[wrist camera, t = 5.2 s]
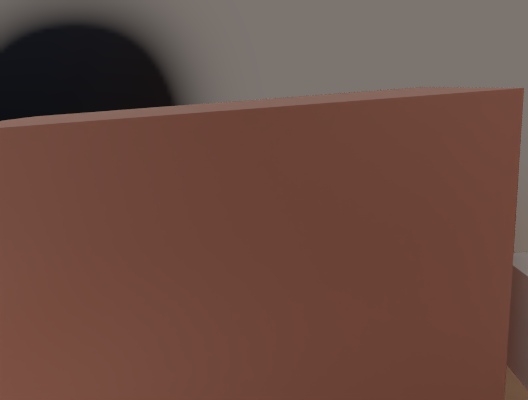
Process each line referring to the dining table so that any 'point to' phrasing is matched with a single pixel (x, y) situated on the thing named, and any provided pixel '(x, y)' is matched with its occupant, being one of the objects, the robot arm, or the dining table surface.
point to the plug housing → (262, 249)
